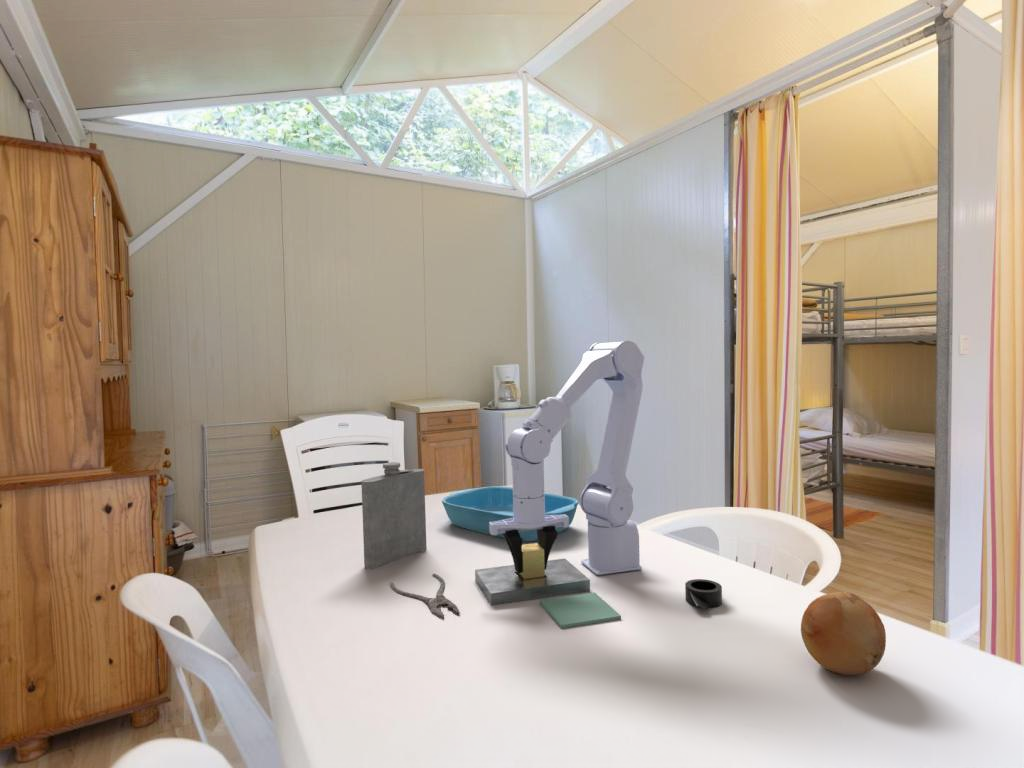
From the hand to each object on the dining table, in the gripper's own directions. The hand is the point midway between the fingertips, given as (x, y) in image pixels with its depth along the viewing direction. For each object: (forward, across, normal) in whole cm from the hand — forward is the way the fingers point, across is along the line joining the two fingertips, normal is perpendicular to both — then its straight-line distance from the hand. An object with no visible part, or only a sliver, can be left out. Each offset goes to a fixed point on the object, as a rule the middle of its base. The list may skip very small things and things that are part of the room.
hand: (530, 569), depth 109 cm
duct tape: (+3, -25, +16) cm, 30 cm away
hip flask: (+3, +22, -25) cm, 33 cm away
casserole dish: (+3, -7, -39) cm, 40 cm away
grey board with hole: (+3, 0, 0) cm, 3 cm away
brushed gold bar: (+3, 0, 0) cm, 3 cm away
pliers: (+3, +17, -2) cm, 17 cm away
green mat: (+3, -4, +13) cm, 14 cm away
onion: (+3, -29, +41) cm, 50 cm away
